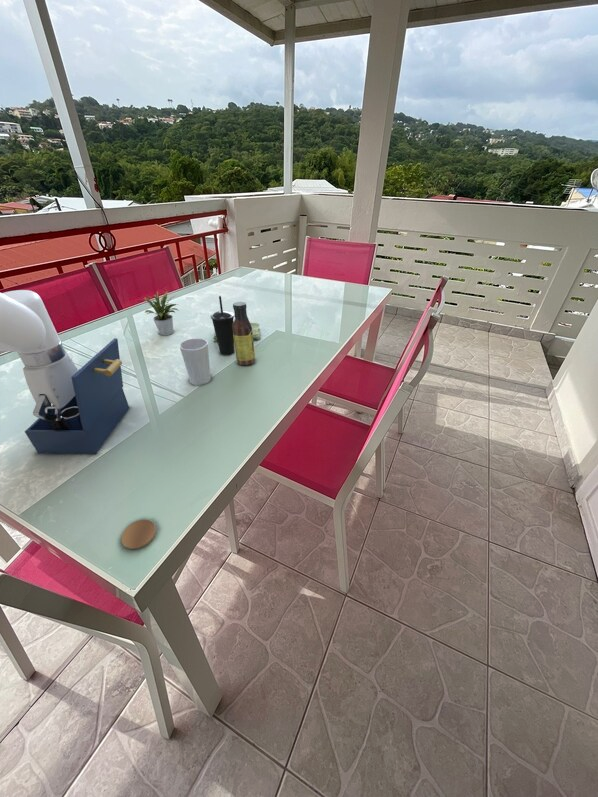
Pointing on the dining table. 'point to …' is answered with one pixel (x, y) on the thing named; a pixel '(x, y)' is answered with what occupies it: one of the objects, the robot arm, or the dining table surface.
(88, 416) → the lid
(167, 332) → the house plant
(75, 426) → the tumbler
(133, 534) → the coaster
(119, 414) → the chest
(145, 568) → the dining table surface
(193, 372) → the cup
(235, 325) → the sauce bottle
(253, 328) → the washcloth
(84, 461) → the dining table surface
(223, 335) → the drinking cup
